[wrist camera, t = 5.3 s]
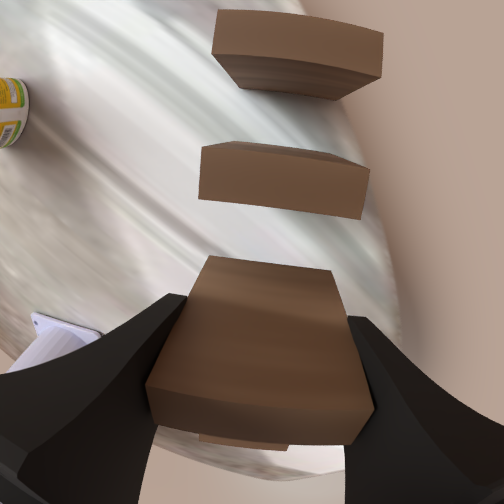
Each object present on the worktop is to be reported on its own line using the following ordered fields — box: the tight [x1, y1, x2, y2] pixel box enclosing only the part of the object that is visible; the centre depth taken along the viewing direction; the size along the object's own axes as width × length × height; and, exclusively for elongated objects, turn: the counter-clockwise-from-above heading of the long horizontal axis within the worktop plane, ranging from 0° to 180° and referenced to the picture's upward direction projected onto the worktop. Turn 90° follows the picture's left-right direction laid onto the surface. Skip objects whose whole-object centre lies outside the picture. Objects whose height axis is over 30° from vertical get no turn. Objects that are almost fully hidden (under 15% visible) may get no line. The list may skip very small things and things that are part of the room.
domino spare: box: [145, 255, 374, 445], centre depth 9 cm, size 2×5×7 cm, turn 84°
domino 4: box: [198, 141, 370, 220], centre depth 12 cm, size 2×5×7 cm, turn 84°
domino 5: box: [211, 10, 383, 101], centre depth 10 cm, size 2×5×7 cm, turn 84°
